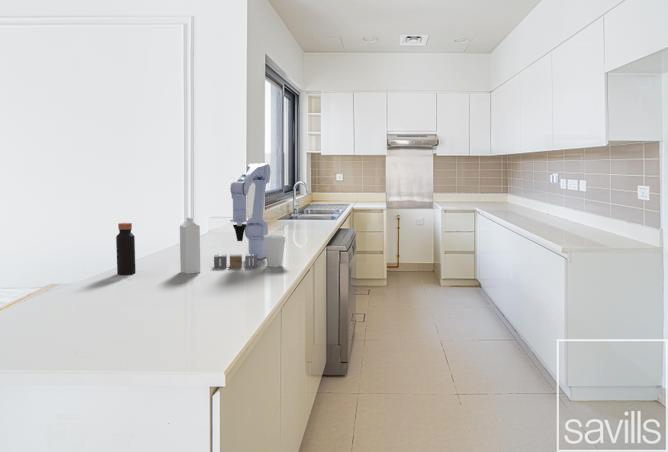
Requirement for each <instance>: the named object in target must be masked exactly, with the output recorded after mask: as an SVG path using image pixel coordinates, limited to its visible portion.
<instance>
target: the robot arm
mask: <svg viewBox="0 0 668 452" xmlns="http://www.w3.org/2000/svg"><path fill="white" fill-rule="evenodd" d="M270 179H271V167H270V165H269V163H249V164H248V165H247V167H246V173H241V176H240V177H239V178H238V179H237V181H233V182H231V184H230V194H231V195H230V196H231V199H232V219H230V222H231V223H232V222H233V223H236V224H232V227H233V228H234V232H235V236H236V241H237V242H243V239H244V235H245V238H246V239H247V240H248V254H257V260H261V259H266V253H265V245H264V235H269V228H268V222H267V221H266V220H265V219H264V218H263V217H264V216H263V215H264V208H265V207H264V206H265V198H266V197H265V196H266V187H267V184H268V183H270ZM252 184H254V185H255V186H254V187H255V188H254V196H253V197H254V198H253V204H252V206H253V207H252V214H251V218H249V219H247V195H248V194H249V190H250V187H251V186H252Z"/></svg>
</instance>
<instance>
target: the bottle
mask: <svg viewBox="0 0 668 452" xmlns="http://www.w3.org/2000/svg"><path fill="white" fill-rule="evenodd" d="M132 225H133V223H131V222H120V223H118V224H117V226H118V234H117V235H116V236H115V240H116V242H115V244H116V245H115V246H116V270H117V275H119V276H131V275H134V274H136V243H135V242H136V241H135V238H136V237H135V235H134V234H133V233H132V229H133V227H132Z"/></svg>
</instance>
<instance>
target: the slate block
mask: <svg viewBox="0 0 668 452" xmlns="http://www.w3.org/2000/svg"><path fill="white" fill-rule="evenodd" d="M244 257H245V260H244V264H245V267H244V268H249V269H251V268H258V259H257V254H249V253H248V254H247V253H246V254H245V256H244Z"/></svg>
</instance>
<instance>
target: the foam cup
mask: <svg viewBox="0 0 668 452" xmlns="http://www.w3.org/2000/svg"><path fill="white" fill-rule="evenodd" d="M285 243H286V235H284V234H268V235H264V245H265V253H266V257H265V259H266V266H267V267H268V268H269V267H270V268H279V266H280V267H282V266H283V259H284V252H285Z"/></svg>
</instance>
